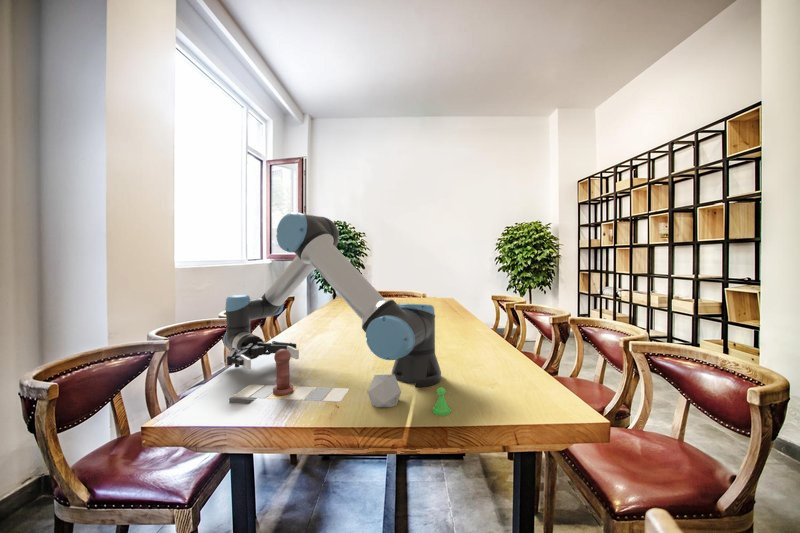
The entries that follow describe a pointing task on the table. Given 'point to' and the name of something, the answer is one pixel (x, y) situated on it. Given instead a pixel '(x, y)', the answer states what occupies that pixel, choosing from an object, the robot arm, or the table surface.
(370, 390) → the die
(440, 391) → the game piece
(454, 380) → the table surface
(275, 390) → the pawn
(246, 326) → the robot arm
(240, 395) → the board
